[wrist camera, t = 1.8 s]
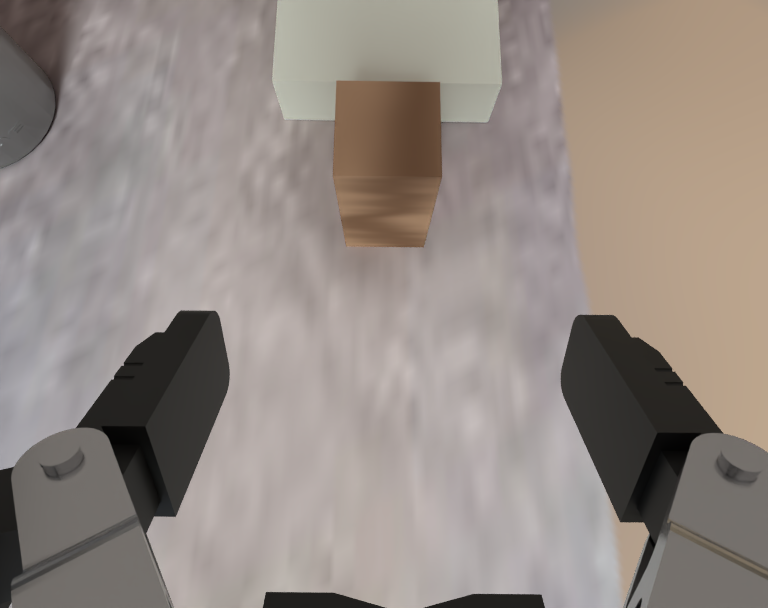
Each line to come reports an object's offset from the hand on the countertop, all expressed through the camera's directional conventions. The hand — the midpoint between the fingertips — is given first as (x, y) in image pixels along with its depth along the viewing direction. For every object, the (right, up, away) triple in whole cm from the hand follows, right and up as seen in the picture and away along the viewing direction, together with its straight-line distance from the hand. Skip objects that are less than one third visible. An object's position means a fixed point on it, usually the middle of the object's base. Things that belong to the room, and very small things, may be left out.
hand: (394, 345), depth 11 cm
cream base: (0, +20, +24) cm, 32 cm away
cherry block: (0, +7, +21) cm, 22 cm away
